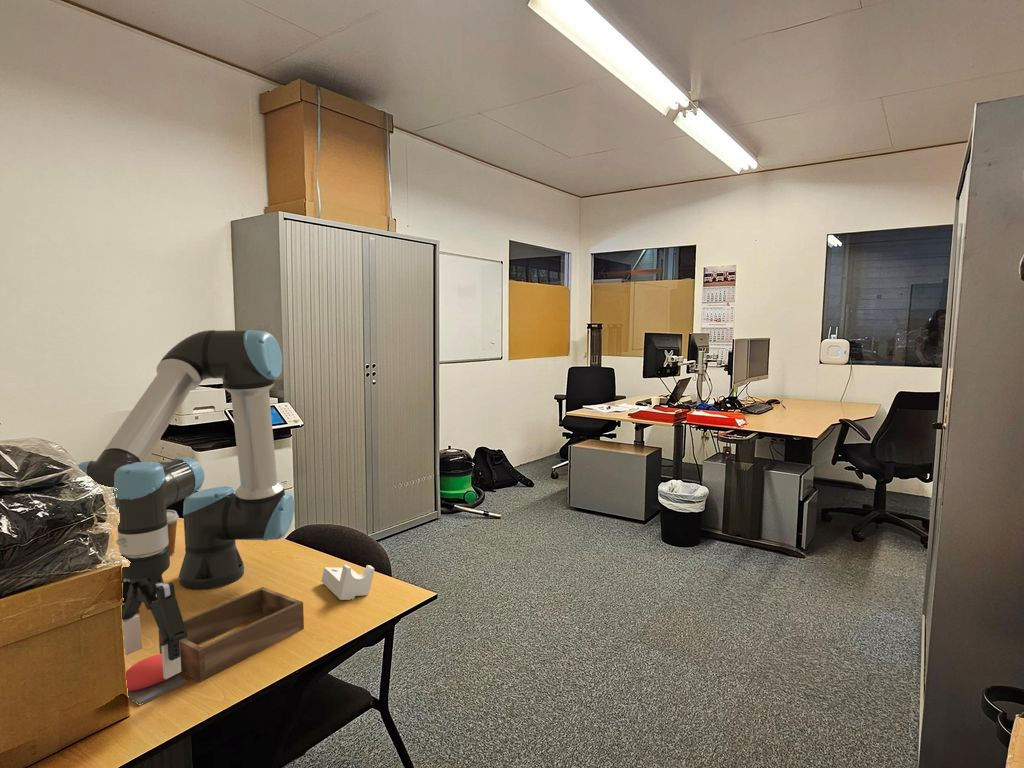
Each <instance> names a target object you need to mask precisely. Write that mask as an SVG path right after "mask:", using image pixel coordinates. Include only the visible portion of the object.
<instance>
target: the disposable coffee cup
mask: <svg viewBox="0 0 1024 768" xmlns="http://www.w3.org/2000/svg"><path fill="white" fill-rule="evenodd" d="M166 510H167V523H168V538H169V544H168V545H167V547H168V548H169V556H170V555H171V556H173V555H174V554H175V548H176V537H177V535H176V534H177V524H178V519H179V517H180V516H179V514H178V513H177V511H176V510H174V509H166ZM173 553H174V554H173ZM172 554H173V555H172ZM171 556H170V557H171Z"/></svg>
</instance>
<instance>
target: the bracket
mask: <svg viewBox="0 0 1024 768" xmlns="http://www.w3.org/2000/svg"><path fill="white" fill-rule="evenodd" d="M374 572H375V568H374V567H373V566H372V565H369V564H367V565H366V567H365V568H364V570H363V571H362V572H361V573H357V571H355V570H354V569H352V568H351V567H350V566H349V565H348V564H343V565H342V567H328V566H327V567H326V566H325V567H324V569H323V572H322V577H321V583H323V584H324V585H325V587H327V589H328V590H330V591H331V592H332V593H333V594H334V596H335V597H336V598H338V599H339V600H340V601H348V600H349V601H351V599H352V600H355V599H356V597H357V596H358V597H361V596H364V595H366V596H369V595H370V591H371V586H372V583H373V577H374V574H375V573H374ZM368 594H369V595H368Z"/></svg>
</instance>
